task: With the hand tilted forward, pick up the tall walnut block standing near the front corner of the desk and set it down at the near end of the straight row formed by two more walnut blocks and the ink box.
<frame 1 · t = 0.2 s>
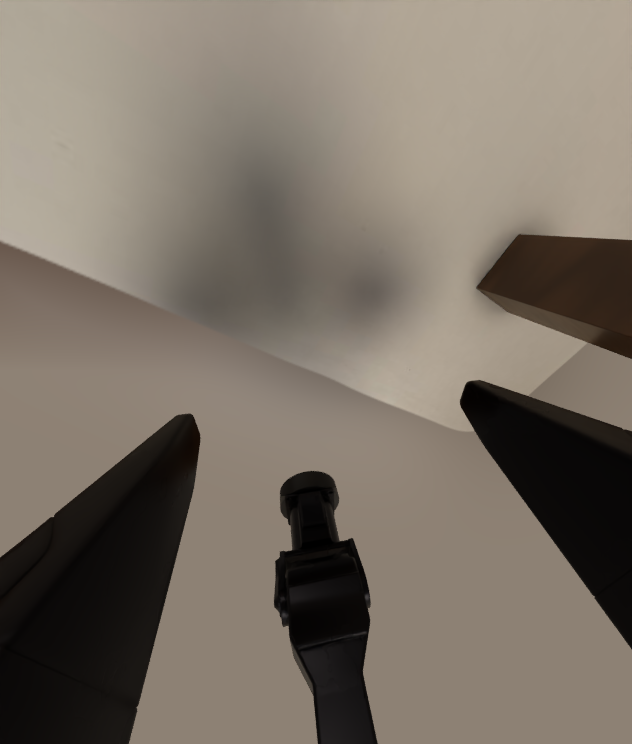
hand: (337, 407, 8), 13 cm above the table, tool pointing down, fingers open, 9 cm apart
walnut block loose: (512, 276, 21), on the table
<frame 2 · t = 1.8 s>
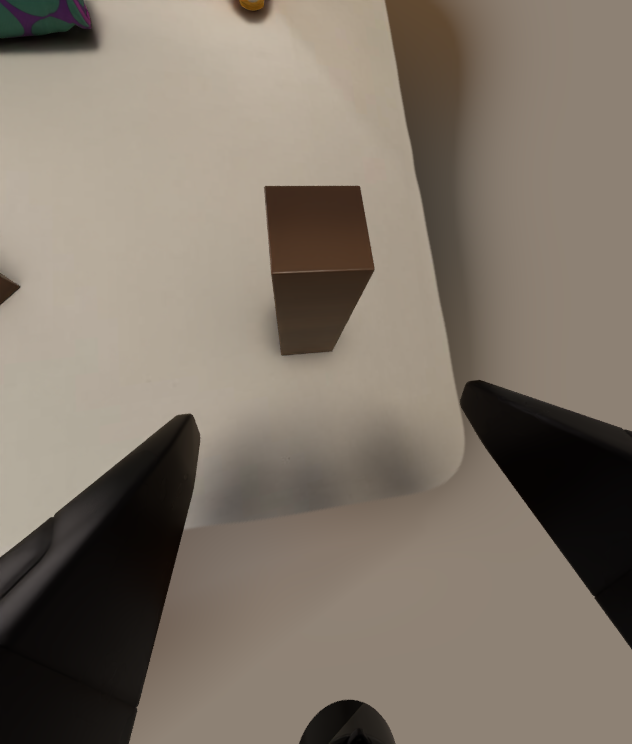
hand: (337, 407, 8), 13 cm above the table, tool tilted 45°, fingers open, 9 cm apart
walnut block loose: (304, 329, 23), on the table
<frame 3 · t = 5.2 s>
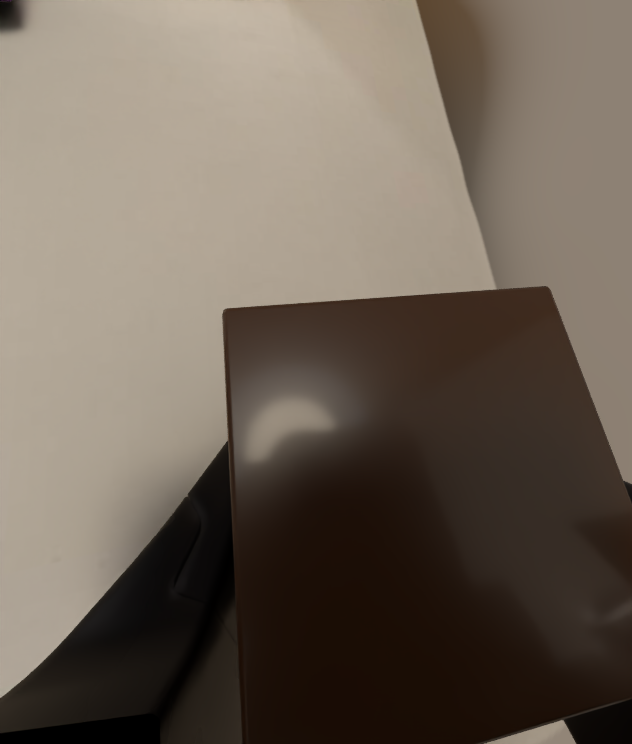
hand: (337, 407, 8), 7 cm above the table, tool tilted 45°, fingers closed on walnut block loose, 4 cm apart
walnut block loose: (320, 444, 14), on the table, touching gripper
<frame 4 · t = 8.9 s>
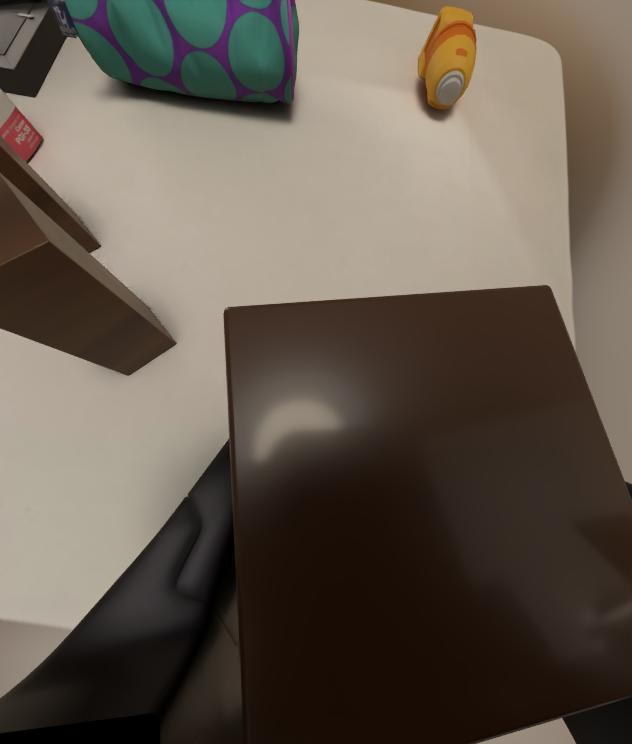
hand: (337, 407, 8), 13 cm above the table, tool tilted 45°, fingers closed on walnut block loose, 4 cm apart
walnut block loose: (321, 444, 14), point 7 cm above the table, touching gripper
walnut block row 2: (64, 241, 23), on the table
walnut block row 1: (138, 339, 22), on the table
pencil case: (207, 90, 30), on the table
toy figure: (435, 91, 33), on the table
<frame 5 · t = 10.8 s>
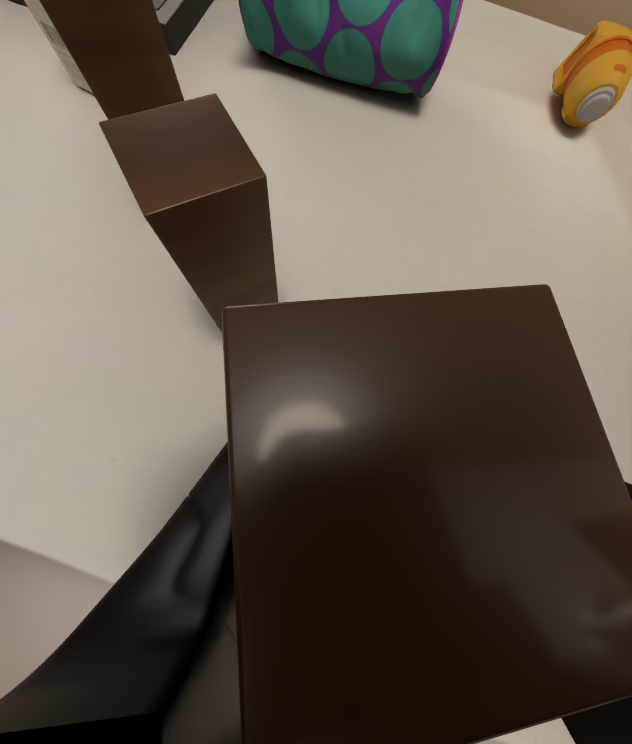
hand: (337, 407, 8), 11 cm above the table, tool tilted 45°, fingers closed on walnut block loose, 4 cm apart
walnut block loose: (320, 444, 14), point 5 cm above the table, touching gripper
walnut block row 2: (184, 197, 23), on the table
walnut block row 1: (242, 307, 21), on the table
pencil case: (338, 73, 29), on the table
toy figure: (568, 107, 31), on the table
ink box: (129, 94, 25), on the table
when the fingers open (7 cm above the table, at t = 12.5 s): walnut block loose stays where it is, on the table.
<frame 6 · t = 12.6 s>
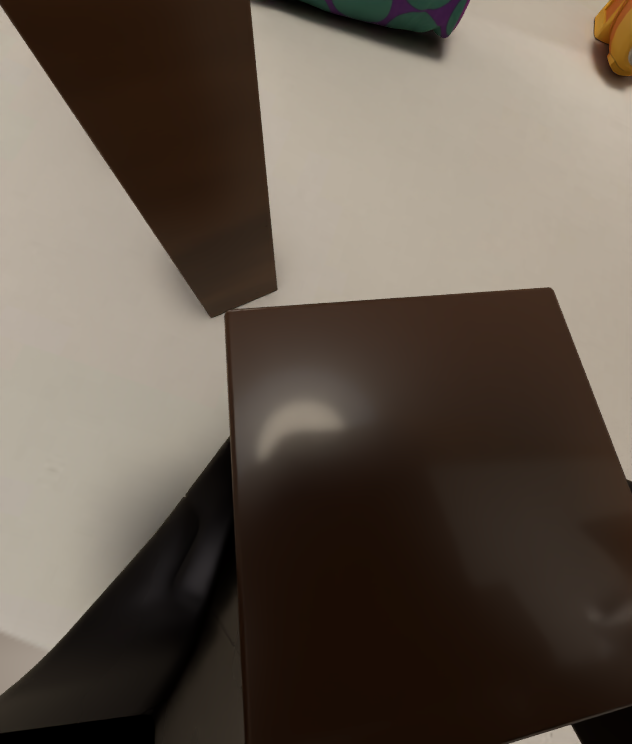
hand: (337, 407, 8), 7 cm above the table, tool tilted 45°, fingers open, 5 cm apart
walnut block loose: (321, 445, 14), on the table
walnut block row 1: (230, 275, 16), on the table
pencil case: (346, 12, 25), on the table
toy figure: (613, 57, 27), on the table
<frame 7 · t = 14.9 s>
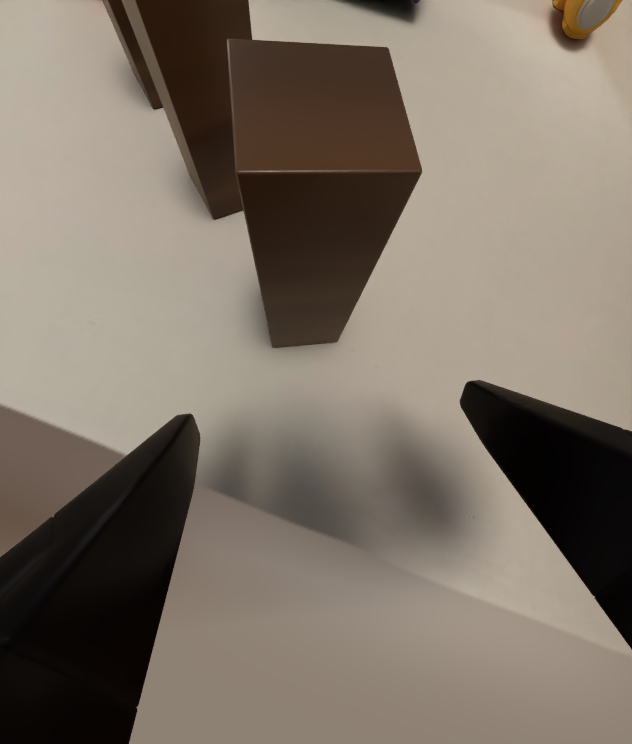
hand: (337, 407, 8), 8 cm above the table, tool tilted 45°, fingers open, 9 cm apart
walnut block loose: (301, 315, 18), on the table
walnut block row 2: (169, 84, 22), on the table
walnut block row 1: (229, 188, 20), on the table
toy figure: (569, 23, 31), on the table
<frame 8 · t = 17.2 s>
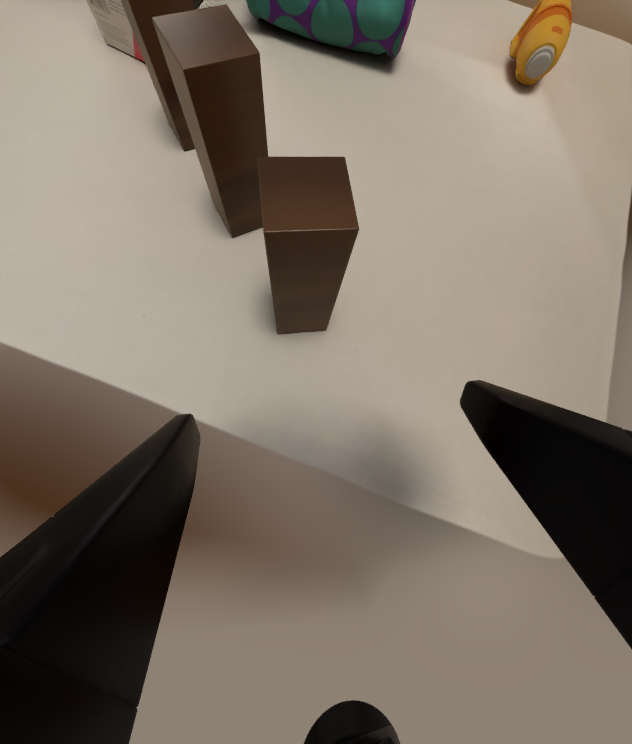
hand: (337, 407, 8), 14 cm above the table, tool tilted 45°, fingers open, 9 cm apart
walnut block loose: (299, 310, 24), on the table
walnut block row 2: (196, 131, 28), on the table
walnut block row 1: (243, 213, 26), on the table
pencil case: (324, 38, 34), on the table
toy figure: (523, 70, 37), on the table
ink box: (150, 51, 31), on the table
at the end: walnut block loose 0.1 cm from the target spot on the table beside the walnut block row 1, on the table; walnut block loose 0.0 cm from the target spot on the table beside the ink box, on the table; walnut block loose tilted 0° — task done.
